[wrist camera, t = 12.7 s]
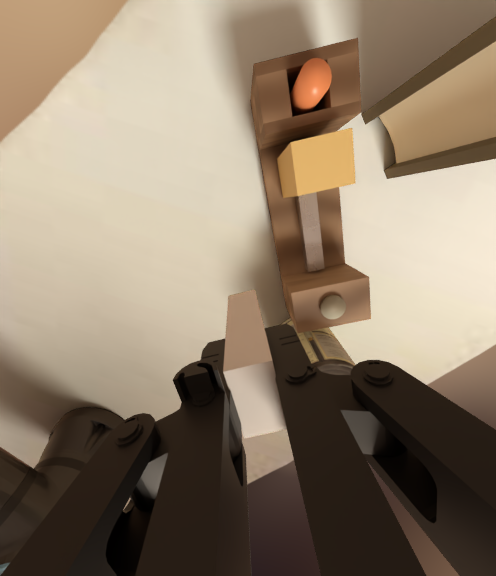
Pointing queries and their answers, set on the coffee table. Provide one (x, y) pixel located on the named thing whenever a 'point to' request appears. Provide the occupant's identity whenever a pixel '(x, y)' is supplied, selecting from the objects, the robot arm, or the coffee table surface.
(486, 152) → the book
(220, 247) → the coffee table surface
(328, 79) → the orange peg
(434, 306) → the coffee table surface
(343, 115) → the wooden base
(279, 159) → the carriage
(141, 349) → the coffee table surface
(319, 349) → the coffee can
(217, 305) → the coffee table surface
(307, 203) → the bar
